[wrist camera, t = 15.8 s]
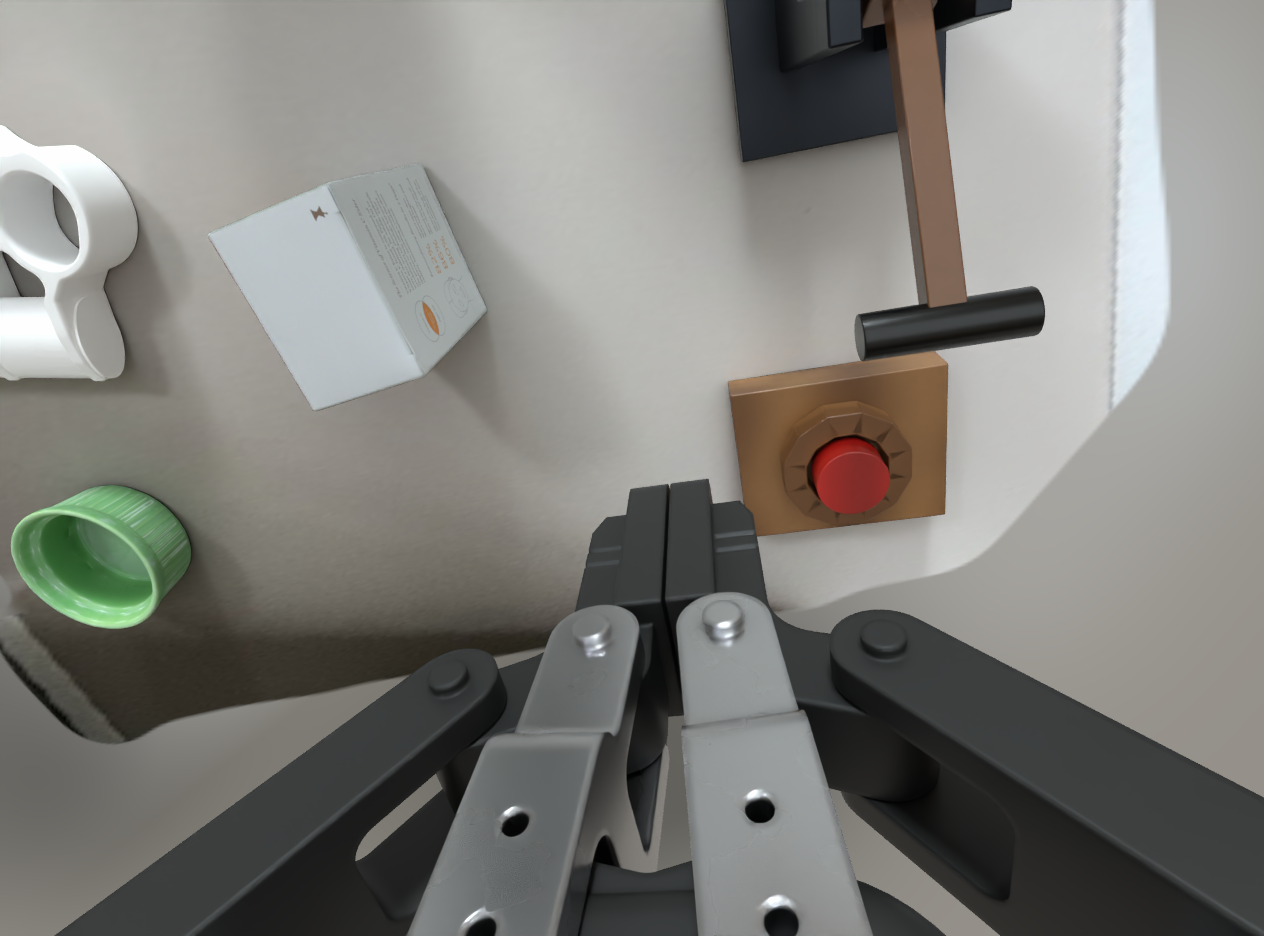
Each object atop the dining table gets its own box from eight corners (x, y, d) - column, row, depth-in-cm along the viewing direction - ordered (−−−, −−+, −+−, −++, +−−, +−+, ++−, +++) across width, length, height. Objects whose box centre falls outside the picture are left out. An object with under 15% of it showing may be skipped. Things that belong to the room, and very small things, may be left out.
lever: (1019, 340, 21) (1056, 329, 19) (855, 365, 22) (870, 358, 20) (970, -91, 21) (1001, -157, 18) (802, -50, 21) (811, -109, 19)
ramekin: (226, 575, 47) (185, 616, 43) (120, 598, 49) (70, 640, 45) (152, 462, 43) (99, 496, 39) (39, 491, 45) (-23, 527, 41)
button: (813, 501, 37) (819, 518, 35) (808, 442, 35) (814, 457, 34) (882, 493, 36) (890, 509, 35) (880, 432, 35) (889, 447, 33)
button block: (745, 517, 42) (751, 554, 38) (727, 380, 38) (731, 408, 34) (932, 494, 40) (956, 531, 37) (934, 349, 36) (960, 374, 33)
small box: (329, 199, 35) (198, 229, 26) (424, 160, 34) (324, 177, 24) (401, 343, 38) (310, 416, 29) (491, 312, 37) (425, 378, 28)
